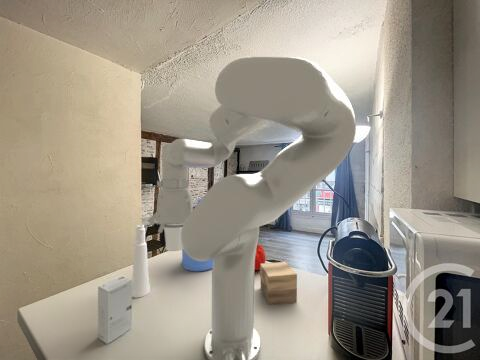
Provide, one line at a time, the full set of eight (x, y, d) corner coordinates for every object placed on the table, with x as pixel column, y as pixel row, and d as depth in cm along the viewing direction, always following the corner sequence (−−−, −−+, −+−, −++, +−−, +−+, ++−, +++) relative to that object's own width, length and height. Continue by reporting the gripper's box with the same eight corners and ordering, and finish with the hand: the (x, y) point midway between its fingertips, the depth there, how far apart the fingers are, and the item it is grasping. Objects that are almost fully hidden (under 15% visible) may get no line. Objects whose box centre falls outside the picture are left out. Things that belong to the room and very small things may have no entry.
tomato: (249, 276, 78) (249, 253, 78) (235, 264, 88) (235, 243, 88) (271, 271, 83) (272, 249, 82) (256, 260, 93) (256, 240, 93)
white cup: (186, 251, 59) (186, 226, 59) (161, 252, 58) (161, 227, 57) (188, 243, 65) (188, 221, 65) (166, 244, 64) (166, 222, 64)
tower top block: (296, 288, 62) (296, 274, 62) (268, 291, 61) (268, 276, 61) (285, 274, 71) (285, 261, 71) (260, 276, 70) (260, 263, 69)
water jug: (221, 257, 96) (222, 198, 95) (214, 273, 80) (214, 202, 80) (189, 255, 97) (189, 197, 97) (175, 271, 82) (176, 201, 81)
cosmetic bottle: (144, 285, 71) (144, 222, 70) (154, 291, 67) (154, 225, 67) (126, 293, 66) (126, 225, 65) (136, 300, 62) (136, 228, 62)
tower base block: (296, 303, 62) (296, 288, 62) (268, 306, 61) (268, 291, 61) (285, 287, 71) (285, 274, 71) (260, 289, 70) (260, 276, 70)
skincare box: (107, 345, 46) (107, 292, 46) (96, 337, 48) (96, 286, 48) (133, 327, 51) (133, 279, 51) (122, 321, 53) (122, 275, 53)
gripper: (140, 185, 57) (141, 250, 57) (204, 185, 59) (204, 247, 59) (149, 185, 64) (149, 242, 64) (205, 184, 66) (205, 239, 66)
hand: (175, 244), depth 61 cm, fingers closed on white cup, 6 cm apart
